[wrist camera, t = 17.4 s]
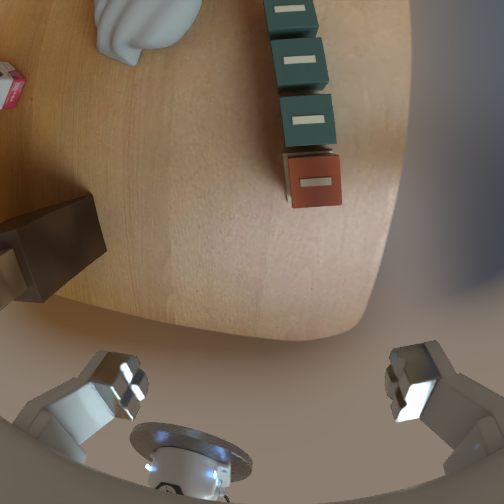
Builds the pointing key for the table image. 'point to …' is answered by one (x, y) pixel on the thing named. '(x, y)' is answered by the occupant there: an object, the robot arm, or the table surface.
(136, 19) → the shell shaped sculpture
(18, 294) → the dark drawer rack
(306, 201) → the wooden drawer cube
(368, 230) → the table surface
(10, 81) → the ink box
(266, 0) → the row of labeled boxes
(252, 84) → the table surface
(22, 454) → the robot arm
